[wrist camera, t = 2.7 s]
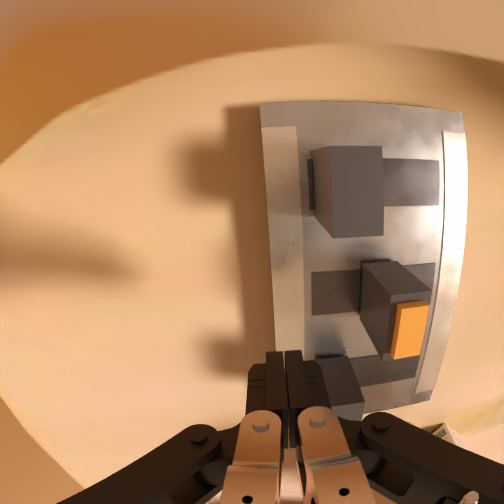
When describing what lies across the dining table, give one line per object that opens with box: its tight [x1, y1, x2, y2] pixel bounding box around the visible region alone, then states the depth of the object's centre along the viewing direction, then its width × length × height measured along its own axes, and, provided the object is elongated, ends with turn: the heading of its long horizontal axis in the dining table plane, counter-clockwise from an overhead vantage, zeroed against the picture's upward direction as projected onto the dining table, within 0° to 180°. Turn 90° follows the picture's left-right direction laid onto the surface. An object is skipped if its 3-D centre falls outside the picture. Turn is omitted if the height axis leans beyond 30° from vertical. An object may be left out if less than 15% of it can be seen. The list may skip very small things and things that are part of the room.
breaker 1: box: [312, 146, 384, 239], centre depth 15 cm, size 2×4×5 cm, turn 5°
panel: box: [259, 101, 467, 414], centre depth 20 cm, size 14×24×2 cm, turn 4°
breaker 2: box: [316, 356, 365, 421], centre depth 19 cm, size 2×4×5 cm, turn 4°
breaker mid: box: [360, 261, 432, 362], centre depth 16 cm, size 2×4×6 cm, turn 5°
